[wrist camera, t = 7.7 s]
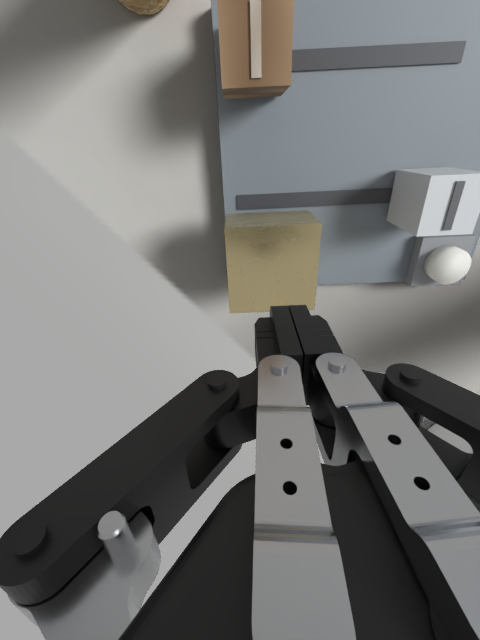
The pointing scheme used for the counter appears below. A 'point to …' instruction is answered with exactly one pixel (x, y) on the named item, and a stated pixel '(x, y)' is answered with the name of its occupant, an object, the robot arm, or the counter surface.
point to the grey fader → (435, 201)
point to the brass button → (271, 259)
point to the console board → (361, 131)
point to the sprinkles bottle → (144, 5)
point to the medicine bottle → (451, 438)
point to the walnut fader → (255, 47)
